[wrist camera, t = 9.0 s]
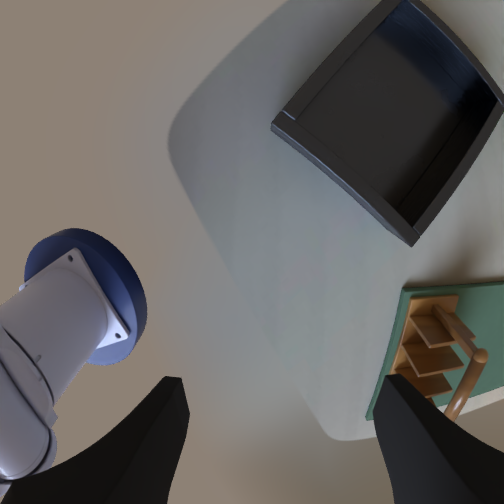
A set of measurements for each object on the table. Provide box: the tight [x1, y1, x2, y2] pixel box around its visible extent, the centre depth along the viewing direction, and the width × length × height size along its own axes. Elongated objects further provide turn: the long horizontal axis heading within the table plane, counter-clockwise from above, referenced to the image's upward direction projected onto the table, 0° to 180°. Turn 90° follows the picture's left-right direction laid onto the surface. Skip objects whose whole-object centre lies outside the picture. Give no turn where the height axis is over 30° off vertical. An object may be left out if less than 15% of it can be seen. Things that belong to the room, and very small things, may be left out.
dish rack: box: [388, 294, 489, 422], centre depth 16 cm, size 8×4×7 cm, turn 1°
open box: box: [271, 0, 504, 247], centre depth 13 cm, size 12×10×4 cm
